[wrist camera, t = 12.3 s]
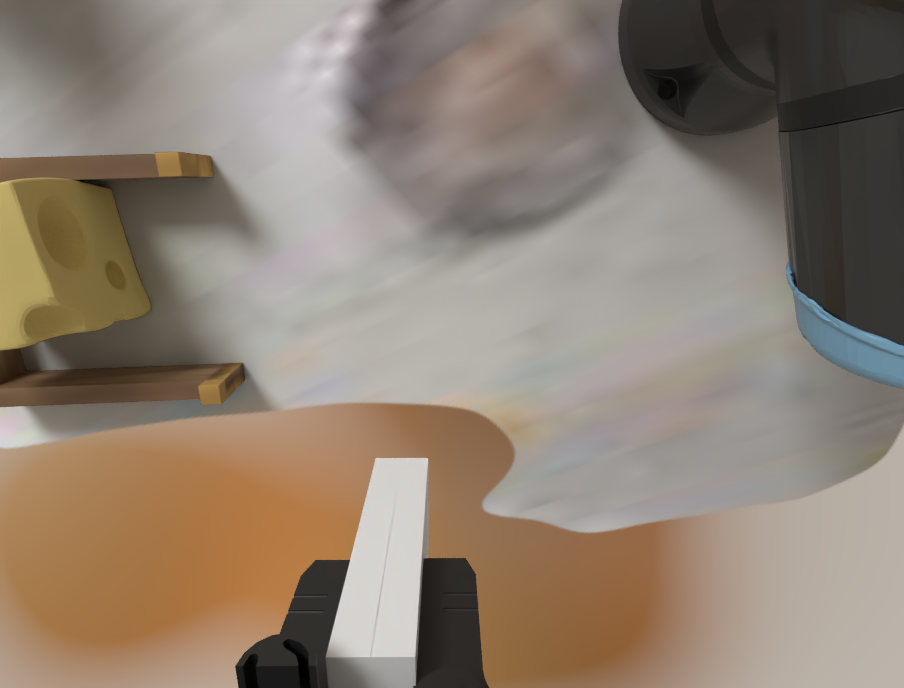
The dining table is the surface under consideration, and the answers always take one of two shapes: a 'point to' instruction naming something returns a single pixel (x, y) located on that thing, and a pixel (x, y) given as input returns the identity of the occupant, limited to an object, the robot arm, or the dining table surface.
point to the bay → (12, 385)
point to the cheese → (63, 262)
